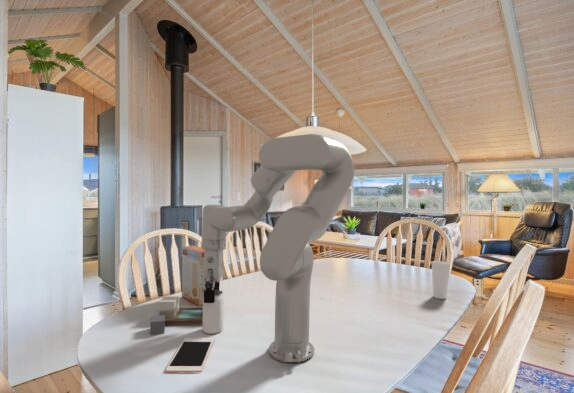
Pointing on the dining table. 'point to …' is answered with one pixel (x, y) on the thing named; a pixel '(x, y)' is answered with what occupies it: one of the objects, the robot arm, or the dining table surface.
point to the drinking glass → (440, 279)
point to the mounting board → (180, 312)
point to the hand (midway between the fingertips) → (211, 297)
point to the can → (213, 314)
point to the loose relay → (157, 324)
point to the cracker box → (193, 274)
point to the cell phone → (191, 355)
